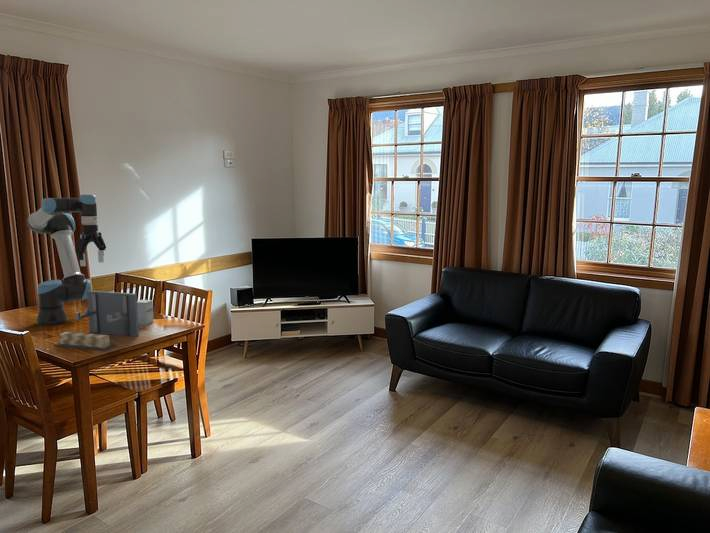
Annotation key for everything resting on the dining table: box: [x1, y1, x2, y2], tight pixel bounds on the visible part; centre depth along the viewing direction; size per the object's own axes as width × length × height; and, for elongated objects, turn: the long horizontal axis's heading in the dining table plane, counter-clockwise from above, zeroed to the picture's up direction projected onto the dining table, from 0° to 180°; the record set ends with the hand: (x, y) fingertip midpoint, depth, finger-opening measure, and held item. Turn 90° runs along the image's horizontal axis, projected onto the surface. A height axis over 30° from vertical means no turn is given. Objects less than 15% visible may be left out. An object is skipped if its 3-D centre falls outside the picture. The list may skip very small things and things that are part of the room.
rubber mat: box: [53, 342, 117, 352], centre depth 251 cm, size 28×8×1 cm, turn 77°
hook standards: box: [74, 294, 131, 338], centre depth 263 cm, size 20×14×21 cm
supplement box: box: [137, 299, 155, 326], centre depth 292 cm, size 7×7×13 cm
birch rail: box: [59, 331, 111, 348], centre depth 251 cm, size 24×4×5 cm, turn 77°
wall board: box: [87, 290, 140, 337], centre depth 270 cm, size 28×2×22 cm, turn 77°
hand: (92, 264), depth 278 cm, fingers open, 13 cm apart
